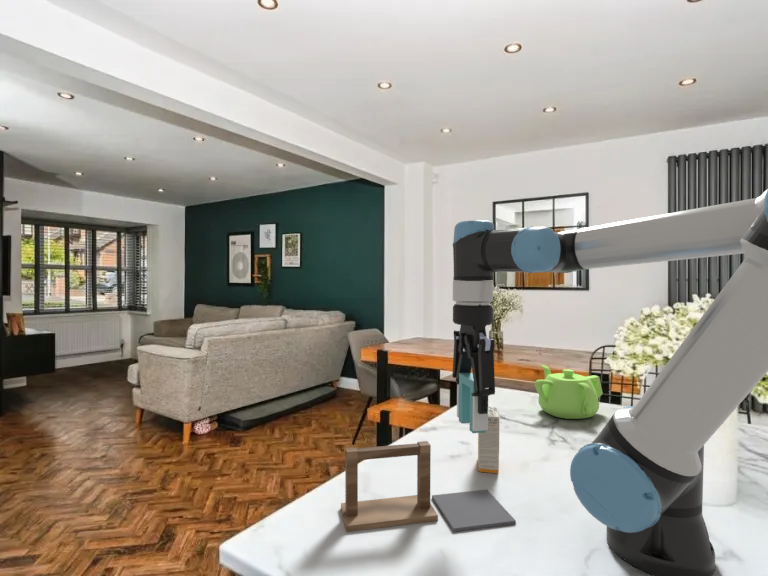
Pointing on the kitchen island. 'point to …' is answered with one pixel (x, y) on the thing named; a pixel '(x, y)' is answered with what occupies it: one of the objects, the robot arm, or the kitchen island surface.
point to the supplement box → (489, 444)
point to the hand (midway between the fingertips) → (471, 422)
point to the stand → (387, 509)
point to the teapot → (569, 394)
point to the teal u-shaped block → (466, 399)
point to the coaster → (472, 510)
